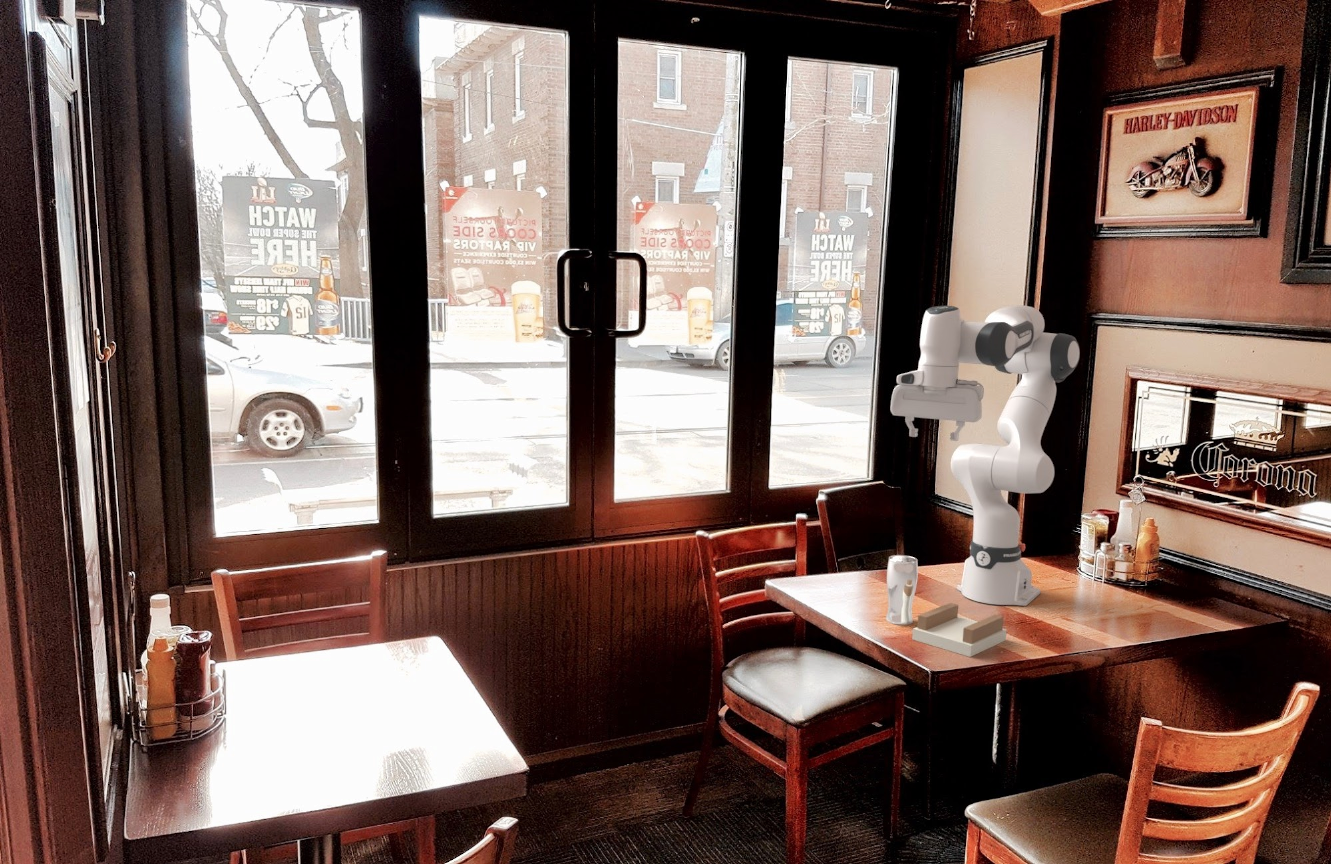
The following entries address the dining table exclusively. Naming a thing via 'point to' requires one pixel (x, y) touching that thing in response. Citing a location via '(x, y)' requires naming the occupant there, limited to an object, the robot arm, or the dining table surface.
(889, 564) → the beer glass
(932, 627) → the stand
